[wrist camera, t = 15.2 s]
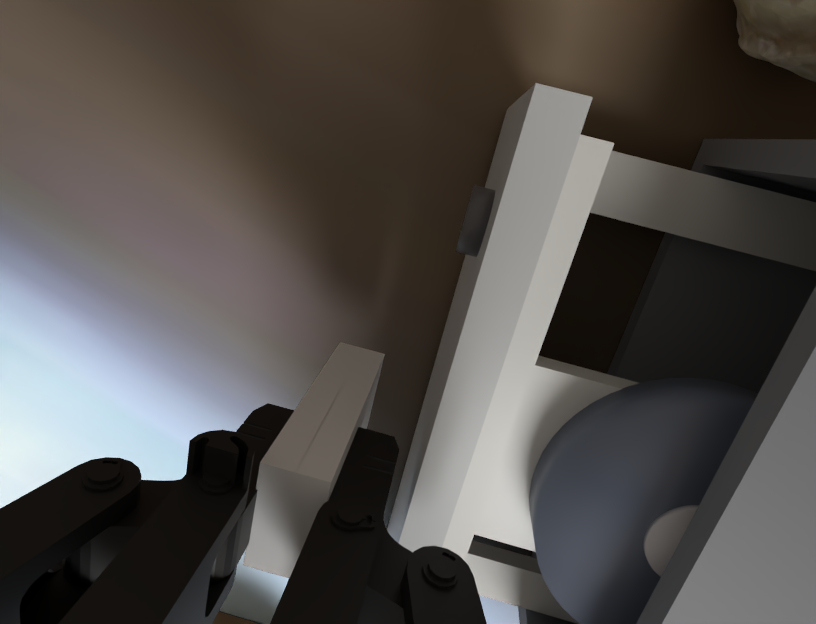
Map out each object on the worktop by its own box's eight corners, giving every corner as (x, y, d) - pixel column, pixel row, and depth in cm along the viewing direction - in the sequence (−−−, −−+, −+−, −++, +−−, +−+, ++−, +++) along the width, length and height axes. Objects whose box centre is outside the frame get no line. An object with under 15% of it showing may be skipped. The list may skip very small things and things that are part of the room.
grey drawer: (371, 542, 24) (315, 761, 15) (492, 105, 17) (507, 75, 9) (779, 659, 23) (952, 956, 15) (1059, 249, 17) (1641, 360, 8)
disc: (496, 568, 17) (498, 617, 15) (582, 343, 14) (597, 372, 12) (745, 639, 16) (776, 697, 15) (881, 423, 14) (939, 464, 12)
